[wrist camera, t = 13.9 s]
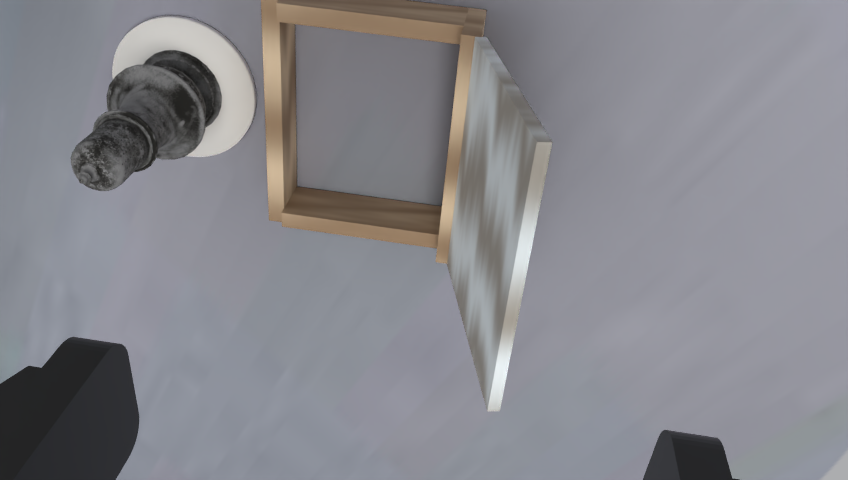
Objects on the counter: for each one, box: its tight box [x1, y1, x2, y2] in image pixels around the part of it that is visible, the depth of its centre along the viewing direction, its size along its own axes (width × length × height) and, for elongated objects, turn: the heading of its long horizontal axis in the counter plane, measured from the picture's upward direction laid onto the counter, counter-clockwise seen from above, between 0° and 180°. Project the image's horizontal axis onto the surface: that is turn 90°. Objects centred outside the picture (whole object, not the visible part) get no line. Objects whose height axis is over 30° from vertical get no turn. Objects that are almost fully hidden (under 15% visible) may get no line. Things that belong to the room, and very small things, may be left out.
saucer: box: [112, 15, 257, 157], centre depth 46 cm, size 9×9×1 cm
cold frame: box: [261, 0, 552, 412], centre depth 38 cm, size 14×15×17 cm
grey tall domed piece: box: [71, 50, 222, 191], centre depth 41 cm, size 6×6×12 cm
